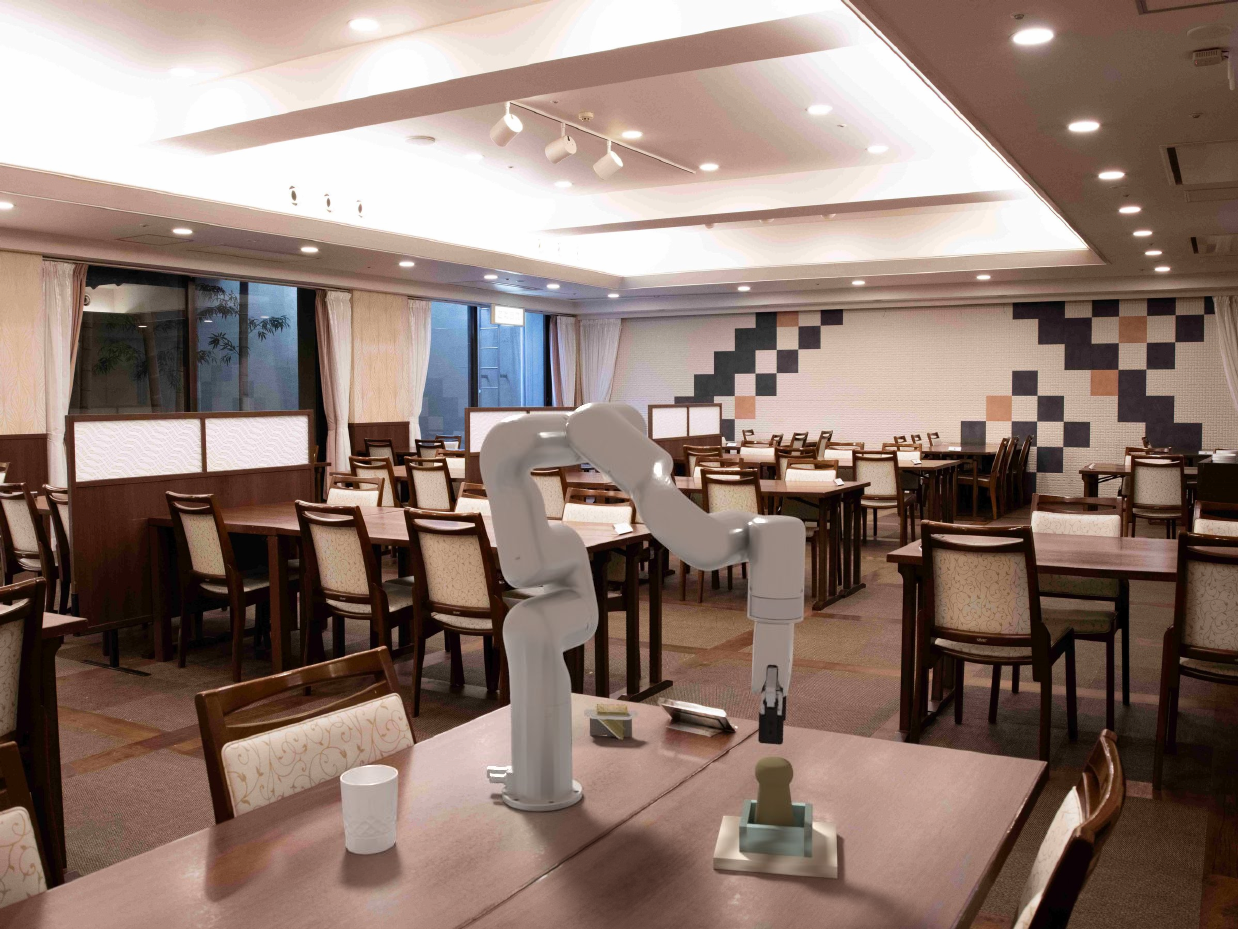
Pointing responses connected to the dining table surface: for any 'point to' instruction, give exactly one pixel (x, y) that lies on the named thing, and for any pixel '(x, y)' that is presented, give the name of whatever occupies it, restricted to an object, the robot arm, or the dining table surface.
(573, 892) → the dining table surface
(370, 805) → the white cup
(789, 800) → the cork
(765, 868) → the shaker caddy
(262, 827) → the dining table surface
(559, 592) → the robot arm
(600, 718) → the platform
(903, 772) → the dining table surface
